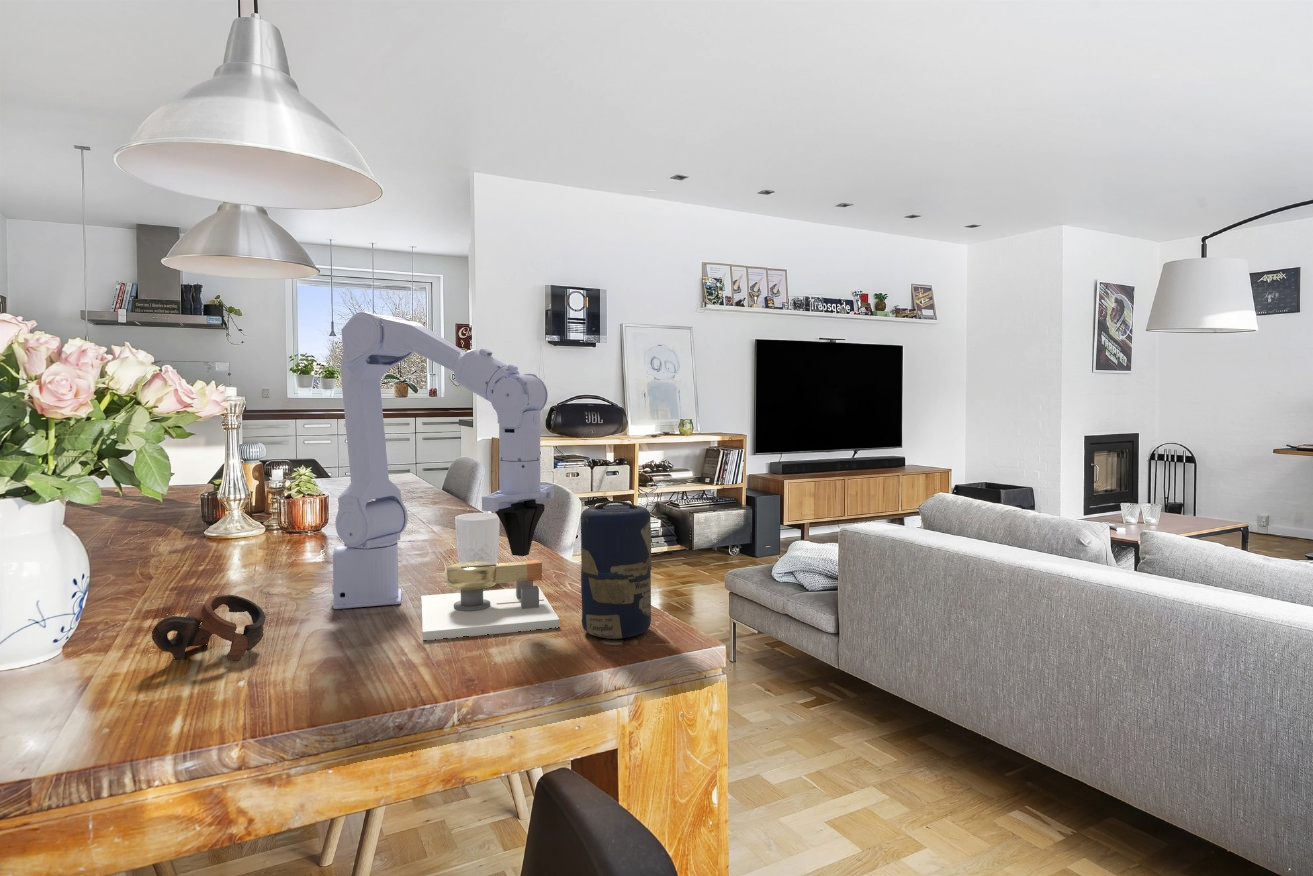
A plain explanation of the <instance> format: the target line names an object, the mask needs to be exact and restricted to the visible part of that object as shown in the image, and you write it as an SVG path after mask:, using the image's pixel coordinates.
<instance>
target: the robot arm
mask: <svg viewBox="0 0 1313 876" xmlns="http://www.w3.org/2000/svg"><path fill="white" fill-rule="evenodd" d="M341 341H342V349H343V350H342V351H343V354H342V359H341V363H340V379H341V388H342V401H343V412H344V422H345V433H346V443H347V444H346V445H347V454H348V455H347V456H348V465H349V474H350V483H349V484H348V486H347V487H346V489H344V491H343V492H342V493H341V494H340V495H339V497H338V498H337V502H338V503H337V505H338V508H337V509H338V511H337V513H336V514H337V515H336V516H335V521H334V522H335V523H334V524H335V530H336V534H337V535H338V538H340V540H341V541H342V542H343V545H336V546H334V548H333V552H332V553H333V555H332V581H333V582H332V588H331V589H332V591H331V592H332V595H333V609H335V610H341V609H352V608H363V607H376V606H378V607H379V606H390V605H400V604H401V603H402V588H400V587H399V557H398V556H399V553H398V552H399V547H398V545H399V544H398V542H399V541H400V540H401V533H403V532H404V531H405V529H406V527H407V525H408V522H409V519H408V518H409V517H408V515H409V514H408V511H407V509H406V505H404V504H405V503H404V502H403V500H402V494H401V493H402V492H401V489H400V488H399V487H398V486H397V485H396V484H395V483H394V482H393V481H392V480H391V479H390V477H389V465H388V455H387V445H386V443H387V442H386V434H385V425H384V424H385V423H384V422H385V421H384V414H383V413H384V412H383V402H382V392H381V391H382V390H381V379H382V378H383V376H384V375H385V374H386V373H387V372H388V371H389V370H390V369H391V368H393V367H395V366H396V365H398V364H399V363H401V362H403V361H404V360H407V359H408V358H409V357H411V356H412V355H413V354H414V353H415V354H418V355H420V356H421V357H424V358H425V359H428V360H430V361H432V362H433V363H435V364H437V365H439V366H442V367H444V368H446V369H448V370H450V371H452V372H454V379H455V382H456V383H457V384H458V385H460V386H461V387H463V388H465V389H467V390H469V391H470V392H472V393H474V394H476V395H477V396H479V397H481V398H482V399H485V400H487V402H490V403H491V406H492V407H493V409H494V410H495V412H496V415H497V424H498V430H499V431H498V439H499V441H498V442H499V443H498V448H499V449H498V454H499V457H498V458H499V460H498V463H499V465H498V466H499V467H498V469H499V471H498V473H499V476H498V477H499V478H498V479H499V490H497V491H494V492H493V493H490V494H486V495H483V496H481V511H482V512H489V513H494V512H495V513H494V514H497V516H498V517H499V519H500V523H501V524H502V526H503V528H504V531H505V534H506V537H507V541H508V545H509V548H510V553H511V556H517V557H526V556H528V555H529V554H530V551H531V546H532V542H533V540H534V539H533V538H534V534H535V531H536V528H537V526H538V523H539V521H540V518H541V517H542V515H543V514H544V512H545V504H544V503H537V501H543V500H547V499H548V500H549V499H550V500H551V499H555V485H553V484H551V485H550V484H541V411H542V410H543V409H544V408H545V407H546V404H547V402H548V397H549V395H548V394H549V393H548V389H547V386H546V384H545V383H544V381H543V380H542V379H541V378H539V377H538V376H537V375H536V374H534V373H523V374H520V372H519V368H518V366H516V365H514V364H508V365H507V364H506V363H504V362H502V361H500V360H498V359H497V358H495V357H493V354H494V353H493V352H492V351H490V350H489V349H487V348H479V349H478V348H474V349H470V350H467V351H464V350H463V349H462V348H460V347H458V346H456V344H454V343H452V342H451V341H448V340H447V339H445V338H443V336H440V335H439V334H437V333H435V332H434V331H432V330H431V329H429V328H428V327H426V326H424V325H423V324H422V323H421V322H417V321H413V320H412V319H410V318H408V317H405V316H400V317H399V316H398V317H396V316H389V315H382V314H374V313H372V312H368V311H359V312H356V313H355V314H353V315H352V316H351V317H350V319H349V320H348V321H347V322H346V323H345V324H344V326H343V327H342V328H341Z"/></svg>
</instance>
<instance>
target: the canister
mask: <svg viewBox="0 0 1313 876" xmlns="http://www.w3.org/2000/svg"><path fill="white" fill-rule="evenodd" d="M651 520H652V519H651V513H650V511H649V510H648V509H647V508H646V507H645V506H644V507H643V506H641V505H636V504H633V503H631V502H627V501H623V500H617V499H615V500H614V499H613V500H607V501H606V502H603V503H599V504H597V505H595V506H594V505H593V506H590V507H588V508H586V509H584V510H582V512H581V514H580V561H581V563H580V564H581V565H580V566H581V567H580V568H581V569H580V591H581V594H580V595H581V610H582V611H581V626H582V628H583V630H584V631H585V632H586V633H587V634H589V635H592V636H593V637H598V638H601V639H613V640H614V639H616V640H617V639H618V640H619V639H625V638H626V639H627V638H631V637H636V636H639V635H641V634H644V633H645V632H646V631H647V630H648V629H649V628H650V627H651V622H652V581H651V580H652V575H651V573H652V571H651V570H652V525H651V524H652V521H651Z"/></svg>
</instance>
